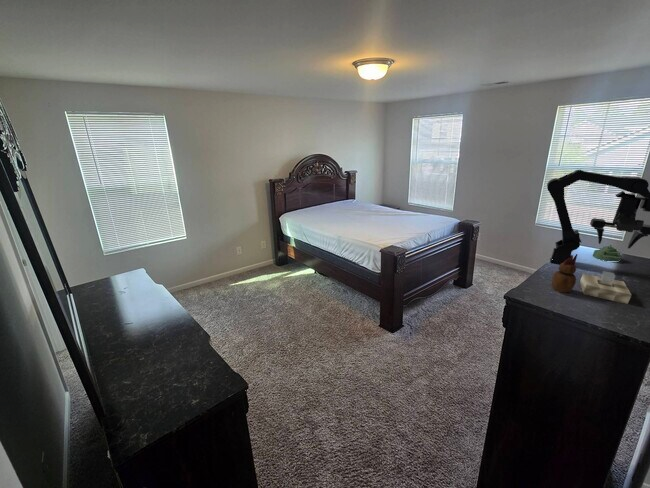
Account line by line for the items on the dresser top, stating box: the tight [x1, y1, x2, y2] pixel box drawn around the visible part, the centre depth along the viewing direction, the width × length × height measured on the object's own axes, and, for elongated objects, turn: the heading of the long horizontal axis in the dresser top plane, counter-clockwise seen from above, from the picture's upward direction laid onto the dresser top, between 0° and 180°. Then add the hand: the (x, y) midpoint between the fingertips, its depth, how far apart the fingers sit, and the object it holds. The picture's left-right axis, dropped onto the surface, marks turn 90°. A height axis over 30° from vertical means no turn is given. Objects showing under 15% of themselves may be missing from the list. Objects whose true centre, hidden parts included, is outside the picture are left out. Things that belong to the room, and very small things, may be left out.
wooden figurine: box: [551, 253, 578, 294], centre depth 111 cm, size 7×6×15 cm
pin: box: [599, 270, 616, 287], centre depth 111 cm, size 3×3×8 cm
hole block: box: [579, 273, 632, 305], centre depth 112 cm, size 12×12×4 cm
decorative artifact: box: [592, 244, 623, 262], centre depth 144 cm, size 10×7×10 cm
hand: (613, 245), depth 126 cm, fingers open, 9 cm apart
